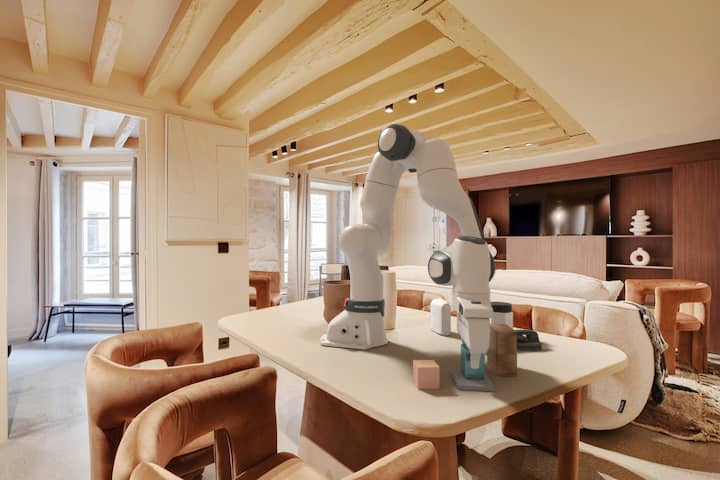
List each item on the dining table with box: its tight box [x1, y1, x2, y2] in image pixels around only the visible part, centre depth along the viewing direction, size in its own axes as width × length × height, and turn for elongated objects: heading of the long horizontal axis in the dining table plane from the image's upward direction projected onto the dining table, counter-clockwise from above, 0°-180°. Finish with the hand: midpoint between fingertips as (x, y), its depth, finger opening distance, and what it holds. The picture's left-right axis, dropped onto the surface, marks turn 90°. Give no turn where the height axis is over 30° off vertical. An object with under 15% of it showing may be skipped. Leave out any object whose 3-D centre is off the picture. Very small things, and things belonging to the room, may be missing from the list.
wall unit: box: [486, 324, 518, 377], centre depth 94 cm, size 5×10×11 cm, turn 174°
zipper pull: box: [514, 329, 543, 352], centre depth 114 cm, size 9×7×25 cm
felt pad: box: [449, 366, 495, 392], centre depth 86 cm, size 8×12×1 cm, turn 174°
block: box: [412, 359, 441, 390], centre depth 83 cm, size 5×5×5 cm
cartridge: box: [460, 343, 486, 380], centre depth 86 cm, size 4×4×7 cm
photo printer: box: [430, 298, 452, 337], centre depth 132 cm, size 10×4×12 cm, turn 14°
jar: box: [489, 301, 514, 330], centre depth 126 cm, size 9×8×12 cm
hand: (470, 360), depth 86 cm, fingers open, 8 cm apart
